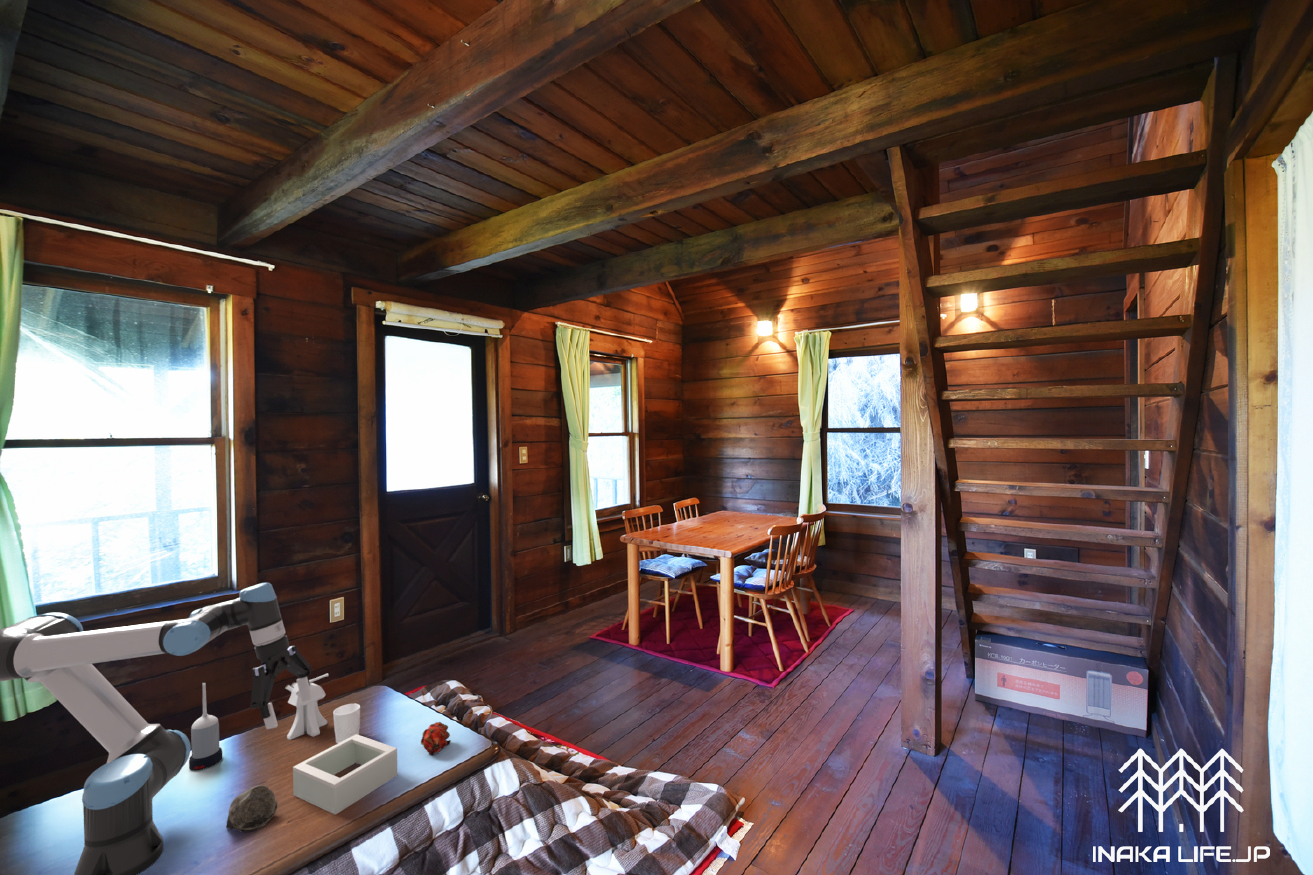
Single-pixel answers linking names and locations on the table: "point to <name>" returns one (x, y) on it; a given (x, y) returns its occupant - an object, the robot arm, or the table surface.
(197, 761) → the humidifier
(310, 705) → the toy gun turret
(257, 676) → the robot arm
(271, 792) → the fossil
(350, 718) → the white cup
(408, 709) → the table surface
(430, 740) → the dragon fruit
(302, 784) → the box
